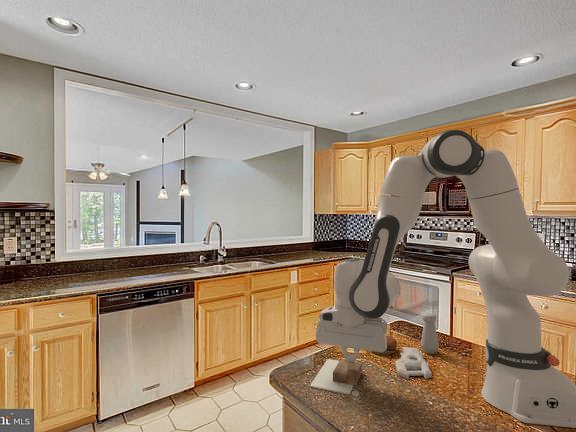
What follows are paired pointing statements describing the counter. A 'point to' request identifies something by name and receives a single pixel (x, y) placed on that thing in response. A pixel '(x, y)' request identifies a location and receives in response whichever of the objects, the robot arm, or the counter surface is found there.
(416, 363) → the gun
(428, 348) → the salt shaker
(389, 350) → the burger
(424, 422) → the counter surface
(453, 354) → the counter surface
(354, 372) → the block
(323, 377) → the mat
